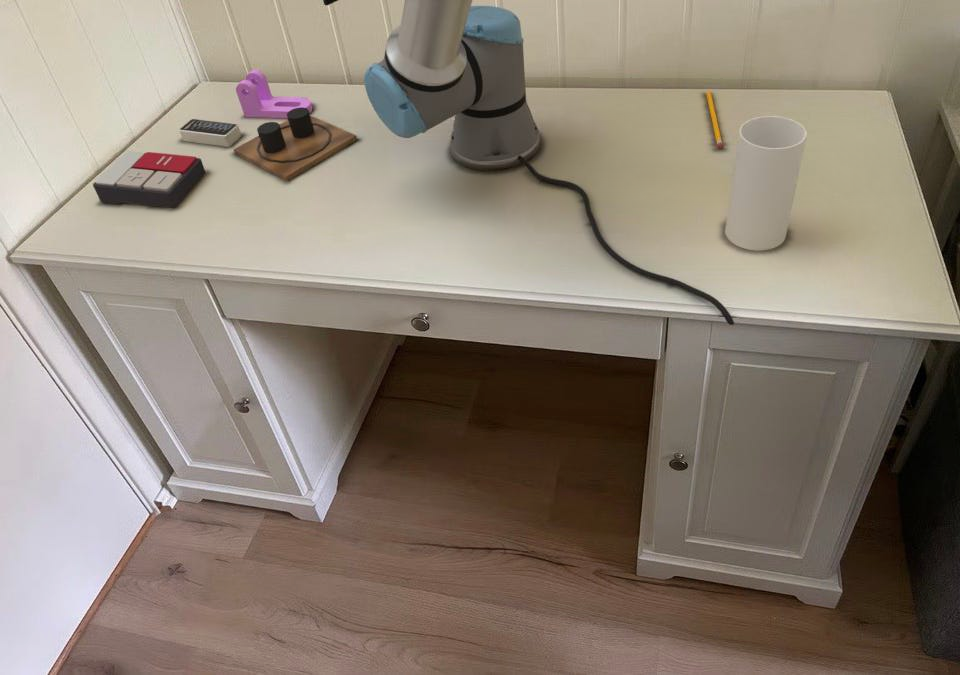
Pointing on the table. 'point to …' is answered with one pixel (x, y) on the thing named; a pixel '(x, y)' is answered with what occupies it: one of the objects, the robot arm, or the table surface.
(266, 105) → the bracket
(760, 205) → the cup
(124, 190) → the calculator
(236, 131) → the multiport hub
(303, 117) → the eye puck
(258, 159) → the board
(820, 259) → the table surface
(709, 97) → the pencil
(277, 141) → the eye puck
